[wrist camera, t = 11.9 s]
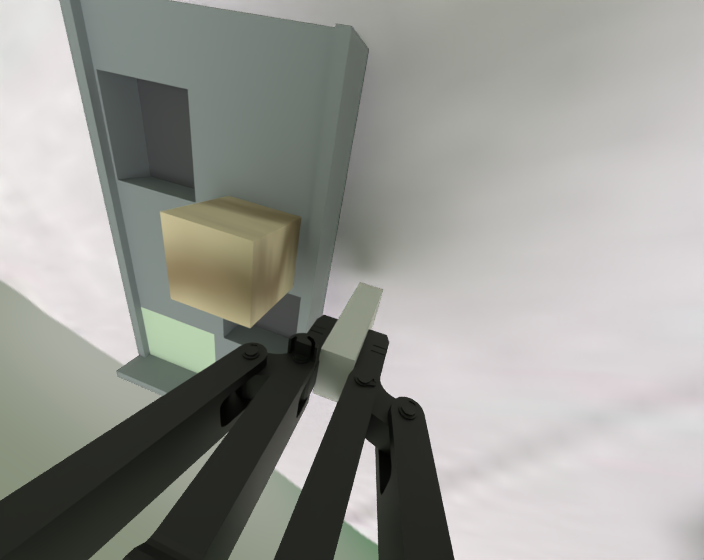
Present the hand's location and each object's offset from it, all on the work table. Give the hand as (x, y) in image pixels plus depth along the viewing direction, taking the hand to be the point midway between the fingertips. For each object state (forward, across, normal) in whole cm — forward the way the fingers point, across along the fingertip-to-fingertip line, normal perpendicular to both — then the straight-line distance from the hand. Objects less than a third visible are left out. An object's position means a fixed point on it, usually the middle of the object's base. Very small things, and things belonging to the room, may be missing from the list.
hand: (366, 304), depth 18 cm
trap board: (+5, -13, -2) cm, 14 cm away
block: (+2, -9, +1) cm, 9 cm away
